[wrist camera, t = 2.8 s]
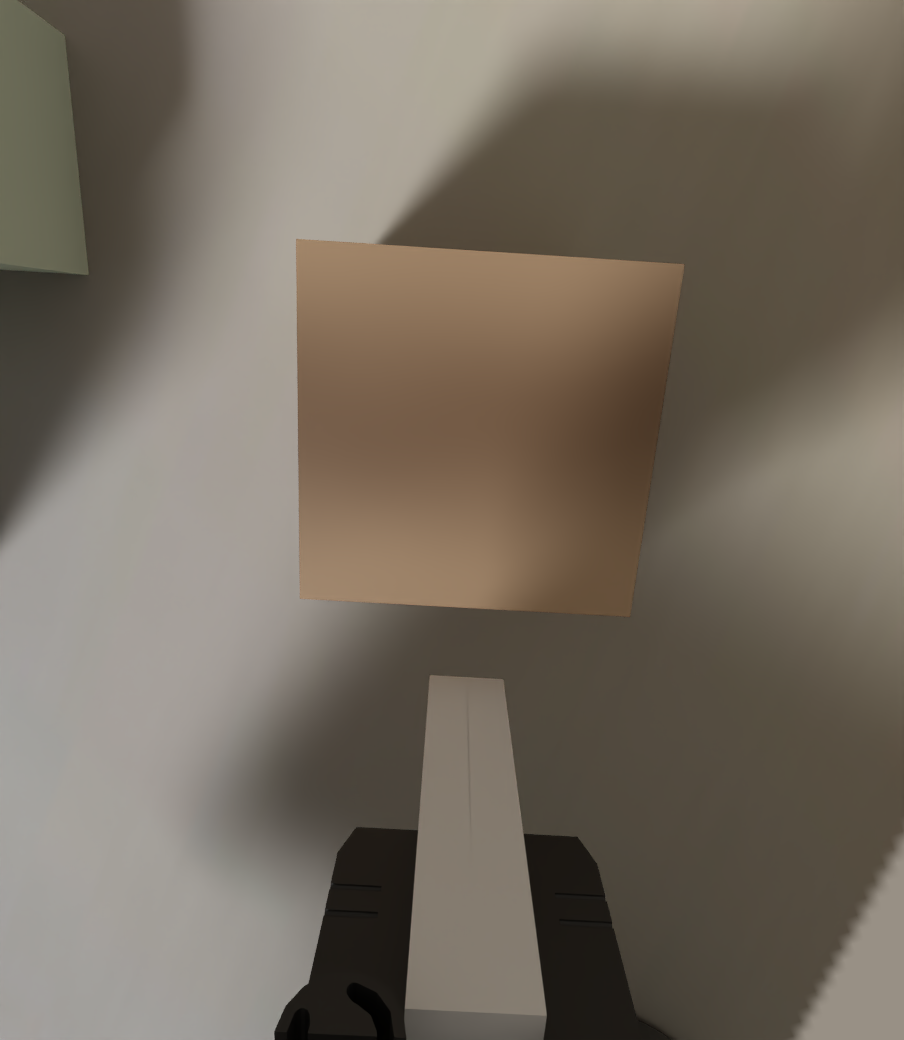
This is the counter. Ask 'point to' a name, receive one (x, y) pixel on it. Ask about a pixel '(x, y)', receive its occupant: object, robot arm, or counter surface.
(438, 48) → the counter surface
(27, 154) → the sage block
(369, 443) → the walnut block
